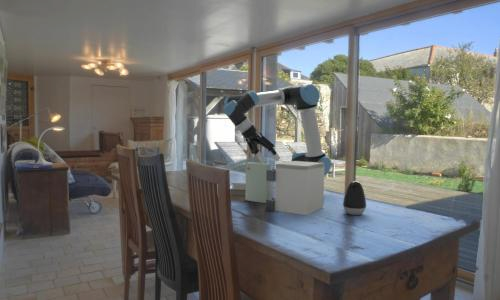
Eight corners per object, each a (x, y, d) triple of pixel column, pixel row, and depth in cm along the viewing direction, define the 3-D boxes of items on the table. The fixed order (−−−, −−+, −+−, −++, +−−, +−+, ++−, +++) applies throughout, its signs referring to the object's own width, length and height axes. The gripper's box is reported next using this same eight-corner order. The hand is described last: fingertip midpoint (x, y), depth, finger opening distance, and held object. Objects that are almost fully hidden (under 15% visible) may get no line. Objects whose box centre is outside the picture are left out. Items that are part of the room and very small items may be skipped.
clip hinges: (272, 207, 188) (273, 168, 187) (279, 208, 186) (280, 169, 185) (265, 210, 183) (266, 170, 181) (272, 211, 181) (273, 170, 179)
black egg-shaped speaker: (340, 214, 176) (341, 181, 175) (345, 210, 185) (346, 178, 184) (363, 217, 171) (364, 183, 170) (367, 213, 180) (369, 180, 179)
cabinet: (293, 203, 199) (294, 160, 197) (323, 207, 190) (324, 162, 189) (274, 210, 182) (275, 163, 181) (306, 215, 173) (307, 166, 172)
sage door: (248, 199, 208) (249, 162, 207) (269, 202, 201) (270, 163, 200) (244, 200, 205) (244, 162, 204) (265, 203, 198) (266, 164, 197)
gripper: (231, 137, 204) (255, 167, 208) (253, 128, 182) (279, 163, 186) (240, 128, 207) (264, 159, 211) (263, 119, 185) (289, 153, 189)
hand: (271, 161), depth 199 cm, fingers open, 13 cm apart
